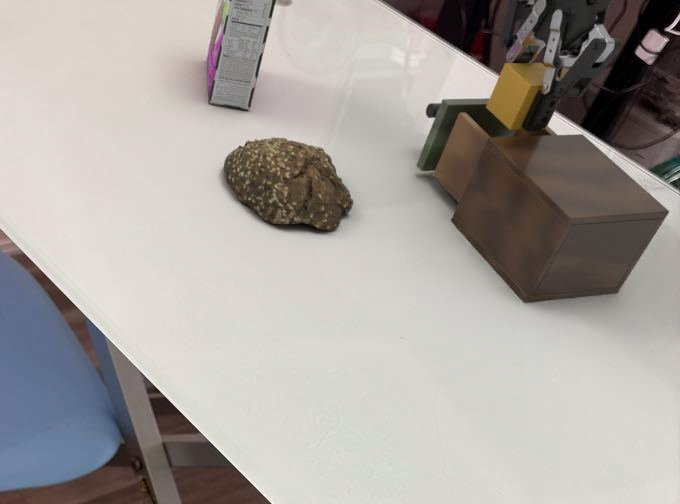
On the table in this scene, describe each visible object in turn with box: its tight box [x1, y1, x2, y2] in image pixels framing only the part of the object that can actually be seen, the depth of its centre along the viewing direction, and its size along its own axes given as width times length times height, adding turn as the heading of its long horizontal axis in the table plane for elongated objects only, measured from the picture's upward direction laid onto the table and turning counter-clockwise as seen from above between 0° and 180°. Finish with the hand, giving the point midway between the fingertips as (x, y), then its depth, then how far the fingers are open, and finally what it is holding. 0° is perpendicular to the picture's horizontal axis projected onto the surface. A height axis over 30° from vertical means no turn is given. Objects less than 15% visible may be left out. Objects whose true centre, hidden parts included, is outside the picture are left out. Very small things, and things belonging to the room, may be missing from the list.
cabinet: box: [450, 133, 670, 303], centre depth 94 cm, size 13×11×9 cm
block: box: [486, 62, 560, 130], centre depth 94 cm, size 4×4×4 cm
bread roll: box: [222, 137, 354, 231], centre depth 95 cm, size 13×12×5 cm
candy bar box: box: [206, 0, 277, 111], centre depth 104 cm, size 11×5×16 cm, turn 179°
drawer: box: [415, 97, 558, 204], centre depth 100 cm, size 17×10×7 cm, turn 20°
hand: (517, 115), depth 96 cm, fingers closed on block, 4 cm apart
